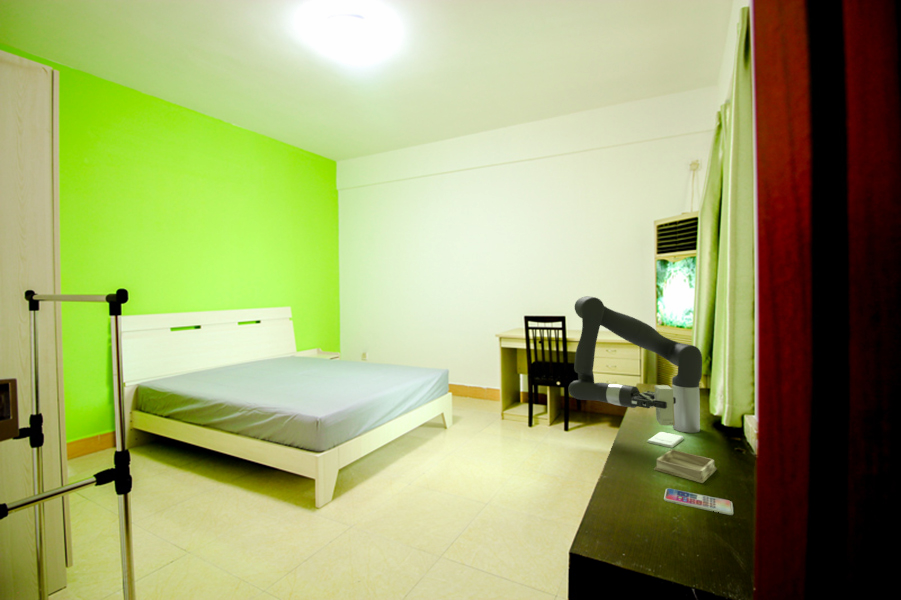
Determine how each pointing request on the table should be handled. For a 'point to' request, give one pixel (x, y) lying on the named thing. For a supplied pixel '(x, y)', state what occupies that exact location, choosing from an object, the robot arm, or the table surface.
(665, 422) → the skincare box
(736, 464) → the table surface
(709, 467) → the wooden tray
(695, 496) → the smartphone
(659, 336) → the robot arm
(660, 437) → the external hard drive
